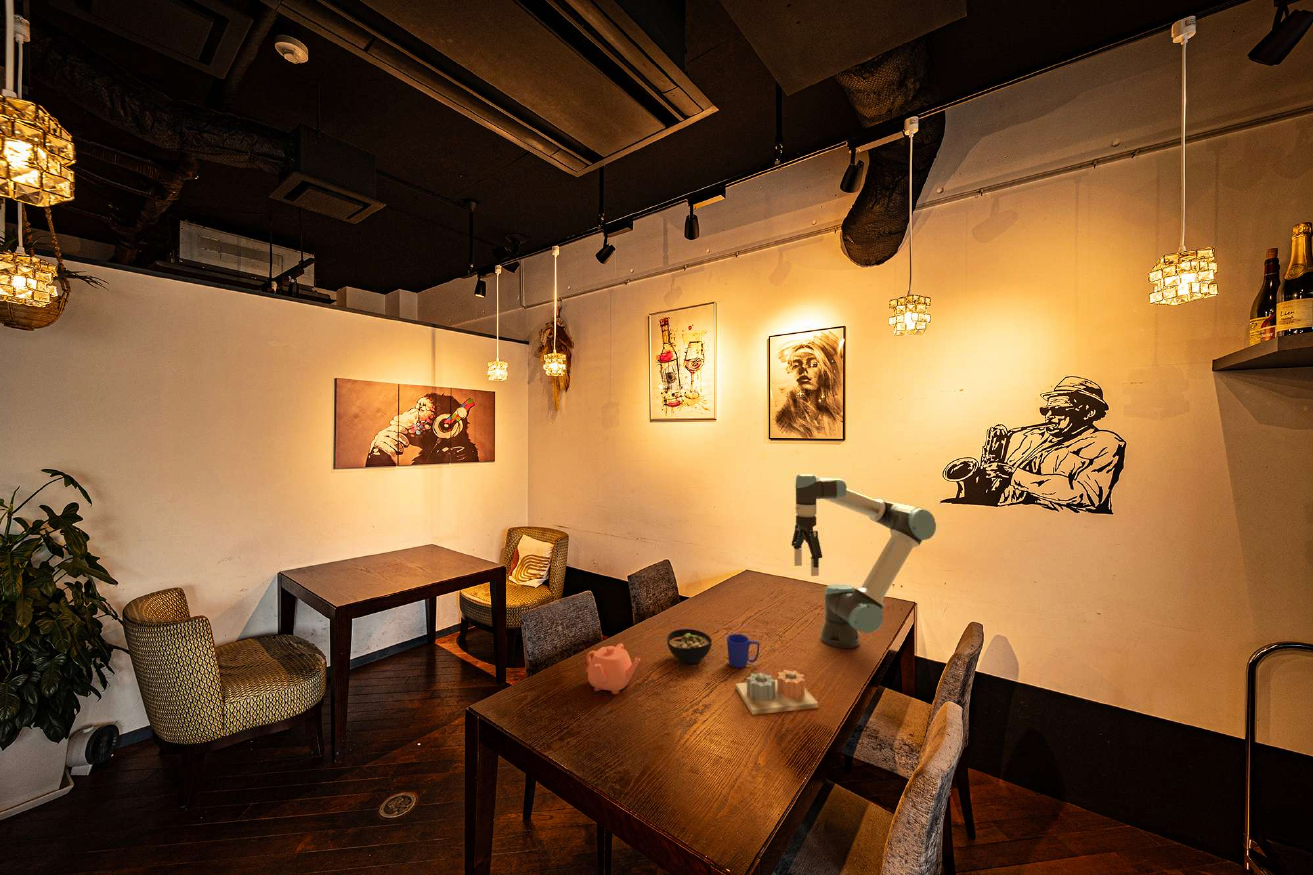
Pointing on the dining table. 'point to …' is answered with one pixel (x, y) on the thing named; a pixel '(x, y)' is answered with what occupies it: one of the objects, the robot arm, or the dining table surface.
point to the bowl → (689, 646)
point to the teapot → (610, 668)
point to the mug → (739, 650)
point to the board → (776, 700)
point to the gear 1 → (761, 687)
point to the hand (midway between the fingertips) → (806, 570)
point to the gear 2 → (791, 684)
